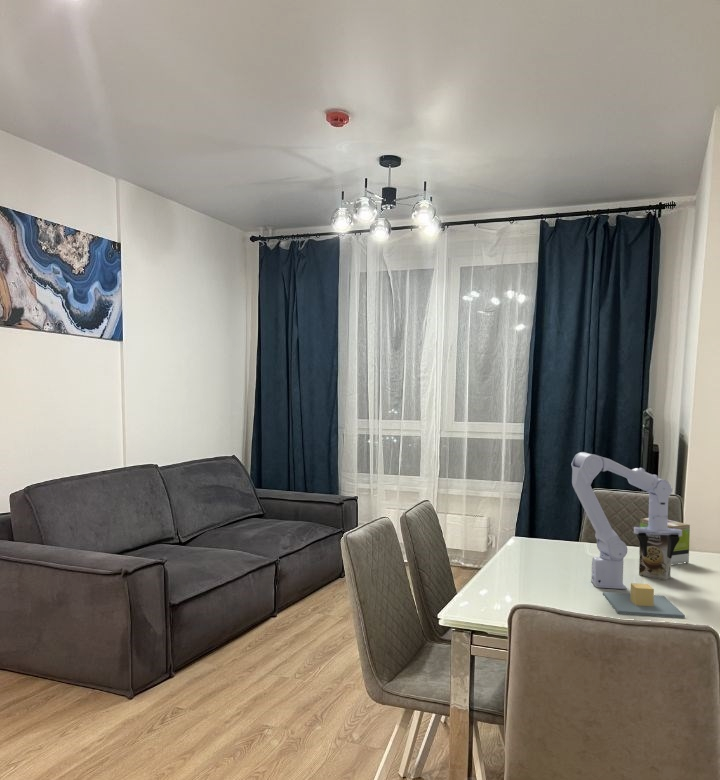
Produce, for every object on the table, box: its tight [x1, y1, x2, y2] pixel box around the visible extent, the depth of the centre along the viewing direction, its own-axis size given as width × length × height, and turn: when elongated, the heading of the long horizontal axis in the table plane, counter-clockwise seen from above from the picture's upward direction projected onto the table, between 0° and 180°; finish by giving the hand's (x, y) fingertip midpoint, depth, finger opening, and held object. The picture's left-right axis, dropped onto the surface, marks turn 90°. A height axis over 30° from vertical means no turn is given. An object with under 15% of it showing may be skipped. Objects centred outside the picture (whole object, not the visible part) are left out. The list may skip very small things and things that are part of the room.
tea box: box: [638, 517, 691, 565], centre depth 253 cm, size 15×10×15 cm, turn 25°
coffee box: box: [638, 532, 672, 581], centre depth 229 cm, size 9×6×16 cm
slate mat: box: [602, 591, 686, 619], centre depth 196 cm, size 18×18×1 cm
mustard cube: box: [630, 582, 655, 606], centre depth 196 cm, size 5×5×5 cm
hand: (657, 556), depth 217 cm, fingers open, 7 cm apart
